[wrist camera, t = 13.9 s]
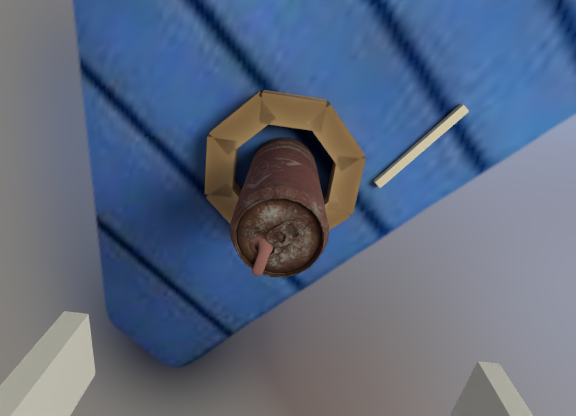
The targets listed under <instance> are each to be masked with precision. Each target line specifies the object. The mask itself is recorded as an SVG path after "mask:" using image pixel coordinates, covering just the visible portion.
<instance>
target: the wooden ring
mask: <svg viewBox="0 0 576 416" xmlns="http://www.w3.org/2000/svg"><path fill="white" fill-rule="evenodd" d="M268 124H269V125H276V126H283V127H290V128H297V129H304V130H311V131H313V133H314V134H315V136H316V137H317V138H318V140H319V141H320V143H321V144H322V145H323V147H324V148H325V149H326V151H327V152H328V154H329V155H330V156H331V158H332V159H333V164H332V169H331V174H330V179H329V184H328V189H327V194H326V195H325V196H323V200H324V205H325V209H326V214H327V219H328V224H329V230H331V229H332V228H334V227H335V226H337V225H338V224H340V223H342V222H343V221H345V220H346V219H348V218H349V217H350V214H349V213H351V214H353V211H354V206H355V202H356V198H357V194H358V190H359V186H360V181H361V177H362V173H363V169H364V165H365V161H366V159H365V157H364V156H365V154H364V153H363V151H362V150H361V148H360V147H359V145H358V144H357V142H356V141H355V139H354V138H353V136H352V135H351V134H350V132H349V131H348V129H347V128H346V126H345V125H344V123H343V122H342V120H341V119H340V117H339V116H338V114H337V113H336V112H335V110H334V109H333V107H332V106H331V104H330V103H329V101H328V102H327V101H326V100H325V99H322V98H315V97H308V96H302V95H295V94H288V93H281V92H275V91H268V90H263V92H262V93H261V92H260V91H259V92H258V93H257V94H255V95H254V96H253V97H252V98H251V99H249V100H248V101H247V102H246V103H244V104H243V105H242V106H241V107H239V108H238V109H237V110H236V111H234V112H233V113H232V114H231V115H230V116H228V117H227V118H226V119H225V120H223V121H222V122H221V123H220V124H218V125H217V126H216V127H215V128H214V129H213V130H212V131H211V132H210V133H209V135H208V136H207V151H206V173H205V194H207V197H206V198H207V199H208V200H209V202H210V203H211V204H212V205H213V206H214V207H215V208H216V209H217V210H218V211H219V212H220V214H221V215H222V216H223V217H224V218H225V219H226V220H227V221H228V222H229V223H231V220H232V217H233V213H234V210H235V207H236V205H237V202H238V199H239V196H240V194H241V191H242V189H241V188H240V187H239V186H238V184H237V183H236V182H235V180H236V168H237V156H238V148H239V147H240V146H241V145H243V144H244V143H245V142H246V141H248V140H249V139H250V138H252V137H253V136H254V135H255V134H257V133H258V132H259V131H261V130H262V129H263V128H265V127H266V126H267V125H268Z"/></svg>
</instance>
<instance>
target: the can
mask: <svg viewBox="0 0 576 416" xmlns="http://www.w3.org/2000/svg"><path fill="white" fill-rule="evenodd" d="M230 233H231V240H232V242H233V245H234V247H235V249H236V251H237V253H238V255H239V257H240V258H241V259H242V260H243V261H244V263H245V264H246V265H247V266H248V267H250V268H251V269H252V274H254V275H256V276H260V275H261V274H264V275H267V276H271V277H288V276H292V275H296V274H299V273H301V272H303V271H305V270H306V269H308V268H310V267H311V266H312V265H313V264H314V263H315V261H316V260H317V259H318V258H319V256H320V255H321V254H322V253H323V250H324V248H325V246H326V244H327V242H328V235H329V224H328V219H327V214H326V209H325V205H324V200H323V195H322V190H321V186H320V181H319V176H318V172H317V167H316V163H315V159H314V156H313V155H312V153H311V152H310V150H309V149H308V148H307V147H306V146H305V145H304V144H302V143H301V142H300V141H297V140H294V139H291V138H277V139H273V140H270V141H268V142H266V143H265V144H264V145H262V146H261V147H260V148H259V149H258V151H257V152H256V153H255V155H254V157H253V160H252V163H251V166H250V169H249V171H248V174H247V177H246V180H245V182H244V185H243V188H242V191H241V194H240V196H239V199H238V202H237V205H236V207H235V210H234V213H233V217H232V220H231V223H230Z"/></svg>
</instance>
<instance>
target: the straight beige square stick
mask: <svg viewBox="0 0 576 416" xmlns="http://www.w3.org/2000/svg"><path fill="white" fill-rule="evenodd" d="M468 112H469V110H468V109H467V108H466V107H465V105H463V104H460V105H459V106H458V107H457V108H455V109H454V110H453V111H452V112H451V113H450V114H449V115H447V116H446V117H445V118H444V119H443V120H442V121H441V122H439V123H438V124H437V125H436V126H435V127H434V128H433V129H432V130H430V131H429V132H428V133H427V134H426V135H425V136H424V137H422V138H421V139H420V140H419V141H418V142H417V143H416V144H414V145H413V146H412V147H411V148H410V149H409V150H408V151H407V152H405V153H404V154H403V155H402V156H401V157H400V158H399V159H397V160H396V161H395V162H394V163H393V164H392V165H391V166H389V167H388V168H387V169H386V170H385V171H384V172H383V173H382V174H380V175H379V176H378V177H377V178H376V179H375V180H374V182H375V183H376V184H377V185H378V186H379V187H380V188H381V187H382V186H383V185H385V184H386V183H387V182H388V181H389V180H390V179H391V178H393V177H394V176H395V175H396V174H397V173H398V172H400V171H401V170H402V169H403V168H404V167H405V166H407V165H408V164H409V163H410V162H411V161H412V160H413V159H415V158H416V157H417V156H418V155H419V154H420V153H422V152H423V151H424V150H425V149H426V148H427V147H428V146H430V145H431V144H432V143H433V142H434V141H435V140H437V139H438V138H439V137H440V136H441V135H442V134H443V133H445V132H446V131H447V130H448V129H449V128H450V127H452V126H453V125H454V124H455V123H456V122H457V121H459V120H460V119H461V118H462V117H463V116H464V115H465V114H467V113H468Z"/></svg>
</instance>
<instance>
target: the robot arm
mask: <svg viewBox="0 0 576 416" xmlns="http://www.w3.org/2000/svg"><path fill="white" fill-rule="evenodd" d="M94 375H95V367H94V357H93V349H92V340H91V331H90V323H89V315H88V314H83V313H75V312H67V311H64V312H63V313H62V315H61V316H60V317H59V318H58V319H57V320H56V322H55V323H54V324H53V325H52V326H51V327H50V328H49V330H48V331H47V332H46V333H45V334H44V335H43V337H42V338H41V339H40V340H39V341H38V342H37V344H36V345H35V346H34V347H33V348H32V349H31V351H30V352H29V353H28V354H27V355H26V356H25V358H24V359H23V360H22V361H21V362H20V363H19V365H18V366H17V367H16V368H15V369H14V370H13V371H12V373H11V374H10V375H9V376H8V378H6V380H5V381H4V382H3V383H2V384H1V385H0V416H70V415H71V413H72V412H73V410H74V408H75V407H76V405H77V403H78V402H79V400H80V399H81V397H82V395H83V394H84V392H85V390H86V389H87V387H88V385H89V384H90V382H91V380H92V379H93V377H94ZM451 416H533V415H532V413H531V412H530V410H529V409H528V407H527V406H526V404H525V403H524V401H523V400H522V398H521V397H520V395H519V393H518V392H517V391H516V389H515V387H514V386H513V384H512V383H511V381H510V380H509V378H508V377H507V375H506V374H505V372H504V370H503V369H502V367H501V366H500V364H496V363H487V362H477V364H476V366H475V368H474V370H473V372H472V374H471V376H470V377H469V379H468V381H467V383H466V385H465V387H464V389H463V391H462V393H461V395H460V397H459V399H458V400H457V402H456V404H455V406H454V408H453V410H452V412H451Z"/></svg>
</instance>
